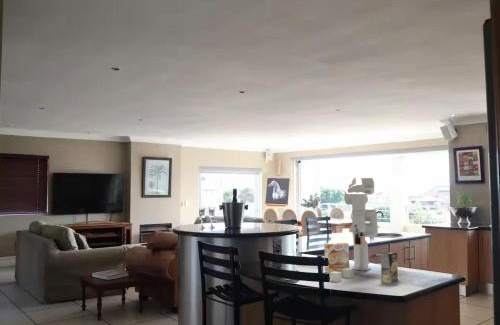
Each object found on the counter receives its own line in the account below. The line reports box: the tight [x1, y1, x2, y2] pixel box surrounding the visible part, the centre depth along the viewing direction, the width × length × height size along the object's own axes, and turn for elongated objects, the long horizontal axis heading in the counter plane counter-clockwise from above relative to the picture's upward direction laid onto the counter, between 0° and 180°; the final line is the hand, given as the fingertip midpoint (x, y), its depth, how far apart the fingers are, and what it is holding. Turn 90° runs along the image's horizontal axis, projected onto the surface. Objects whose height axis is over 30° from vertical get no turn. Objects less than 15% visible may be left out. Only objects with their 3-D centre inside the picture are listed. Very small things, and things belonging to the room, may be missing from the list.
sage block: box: [341, 267, 354, 279], centre depth 268 cm, size 5×5×5 cm
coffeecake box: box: [323, 242, 350, 274], centre depth 284 cm, size 15×7×20 cm, turn 101°
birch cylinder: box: [381, 274, 393, 285], centre depth 247 cm, size 5×5×5 cm
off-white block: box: [329, 271, 343, 283], centre depth 257 cm, size 5×5×5 cm
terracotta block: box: [353, 236, 366, 246], centre depth 256 cm, size 5×5×5 cm
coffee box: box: [380, 251, 399, 282], centre depth 257 cm, size 9×6×16 cm
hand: (359, 243), depth 256 cm, fingers closed on terracotta block, 5 cm apart
